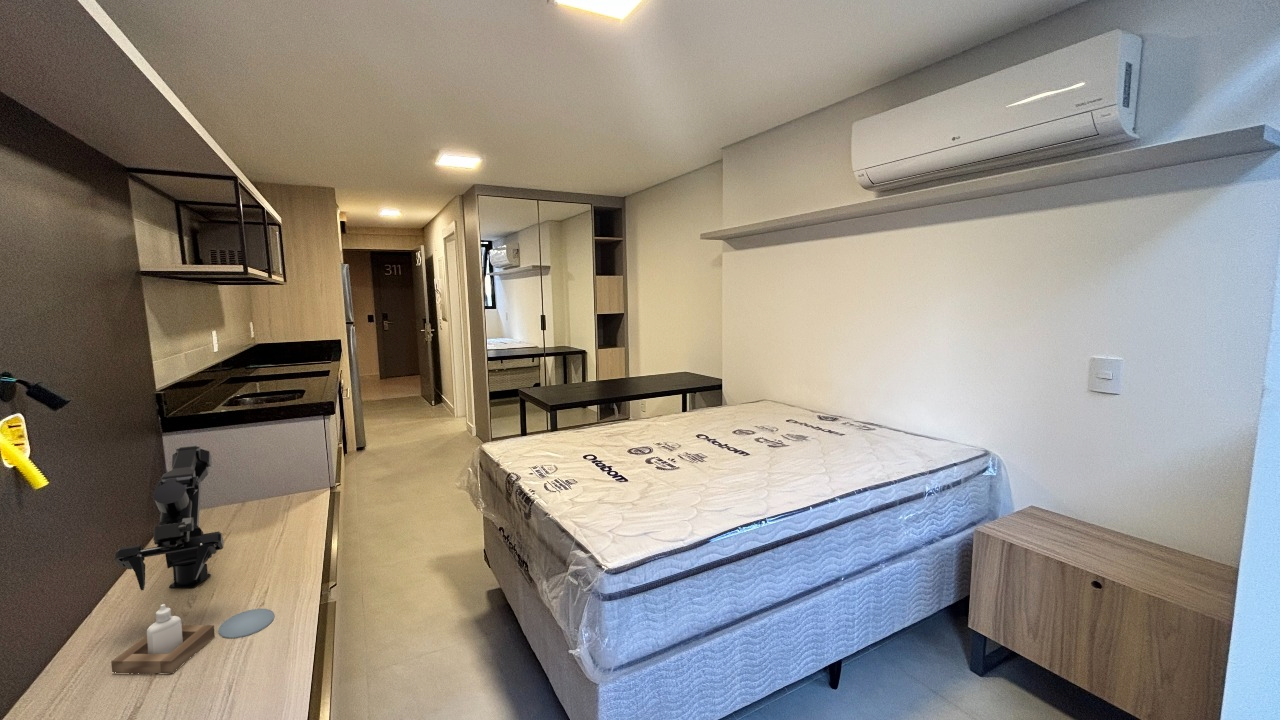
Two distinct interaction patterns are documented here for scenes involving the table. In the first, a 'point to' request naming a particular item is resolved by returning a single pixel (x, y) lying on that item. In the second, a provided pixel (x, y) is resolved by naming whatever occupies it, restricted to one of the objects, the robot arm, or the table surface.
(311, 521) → the table surface
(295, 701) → the table surface
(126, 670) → the walnut socket block
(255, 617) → the slate-blue rubber mat
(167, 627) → the eye dropper bottle
